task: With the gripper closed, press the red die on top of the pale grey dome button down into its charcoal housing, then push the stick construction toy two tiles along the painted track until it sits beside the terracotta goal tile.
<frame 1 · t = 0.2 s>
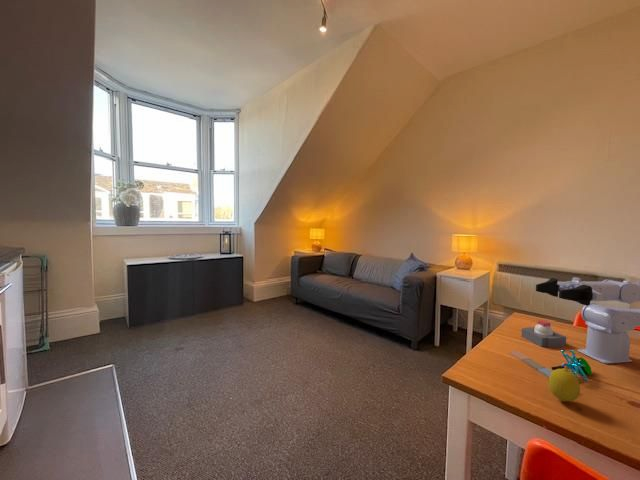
hand: (547, 291, 82), 21 cm above the table, tool horizontal, fingers open, 7 cm apart
stick construction toy: (570, 374, 77), on the table
dome button: (543, 329, 96), point 4 cm above the table, slide at 0.0 cm
dome housing: (542, 340, 97), on the table
track tiles: (533, 365, 81), on the table
lemon: (562, 402, 65), on the table
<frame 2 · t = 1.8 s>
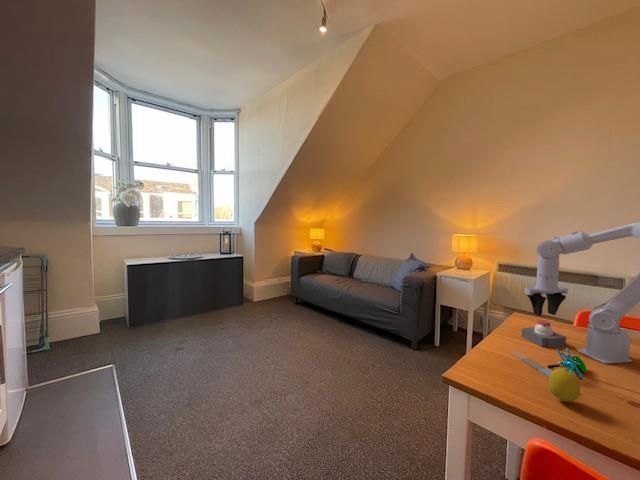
hand: (544, 314, 96), 9 cm above the table, tool pointing down, fingers open, 5 cm apart
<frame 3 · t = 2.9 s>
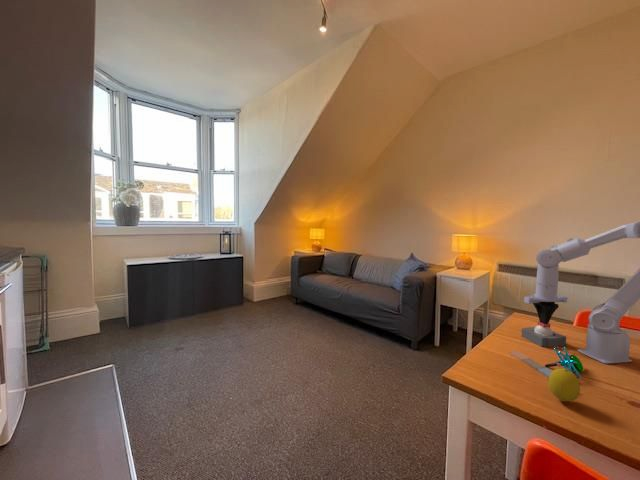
hand: (543, 322, 96), 6 cm above the table, tool pointing down, fingers closed, pressing on dome button
dome button: (543, 330, 96), point 4 cm above the table, slide at 0.4 cm, touching gripper
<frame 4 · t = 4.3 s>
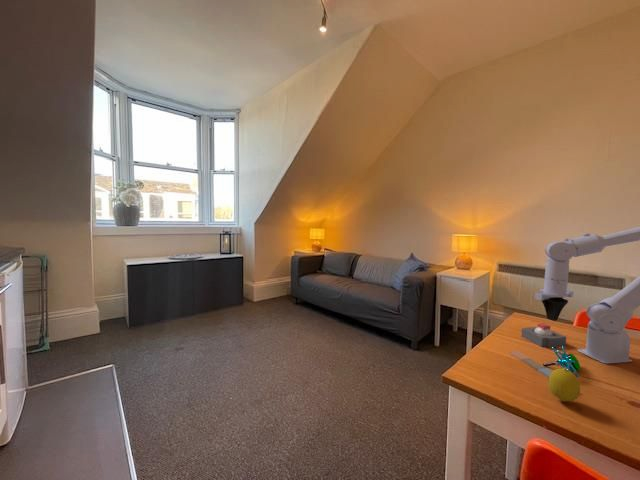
hand: (551, 319, 91), 9 cm above the table, tool pointing down, fingers closed
dome button: (543, 332, 96), point 3 cm above the table, slide at 1.1 cm
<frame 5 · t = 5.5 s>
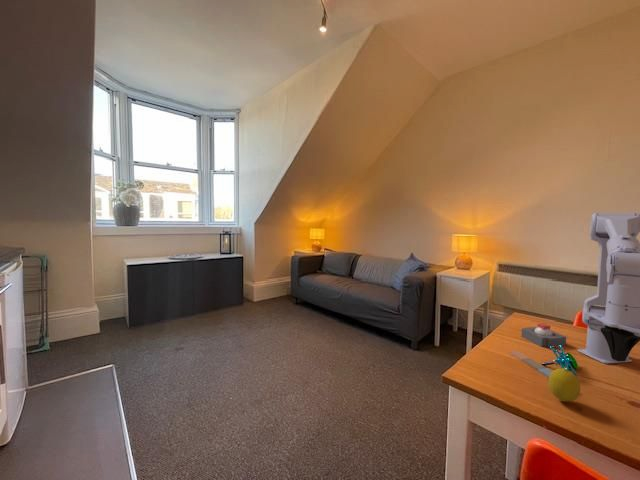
hand: (618, 359, 66), 9 cm above the table, tool pointing down, fingers closed
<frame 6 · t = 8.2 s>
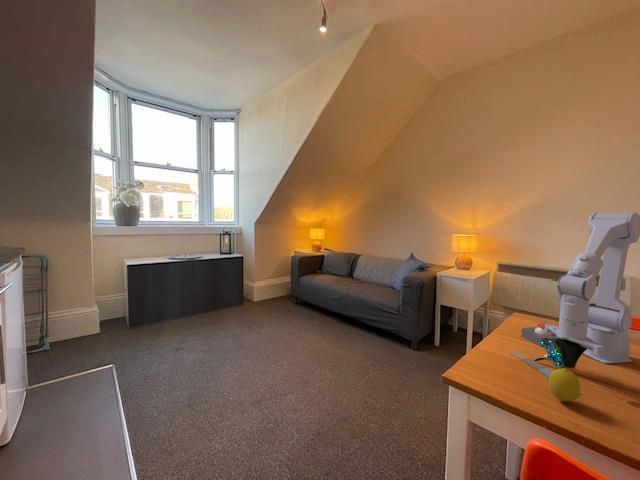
hand: (569, 366, 78), 1 cm above the table, tool pointing down, fingers closed
stick construction toy: (549, 364, 82), on the table, touching gripper
everything else where it was.
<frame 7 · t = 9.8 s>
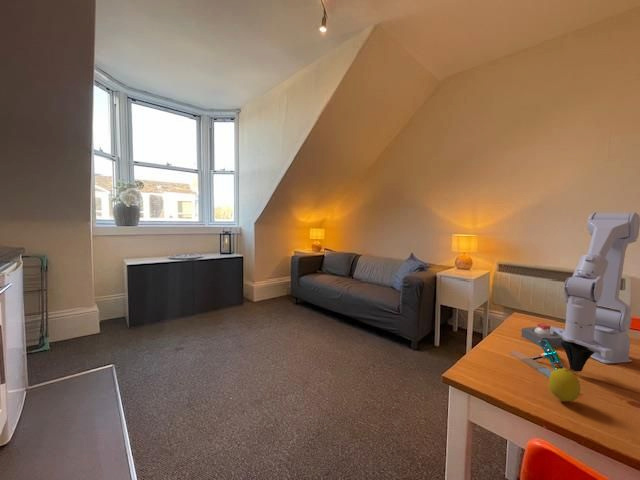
hand: (575, 370, 76), 1 cm above the table, tool pointing down, fingers closed
stick construction toy: (545, 362, 83), on the table
everything else where it was.
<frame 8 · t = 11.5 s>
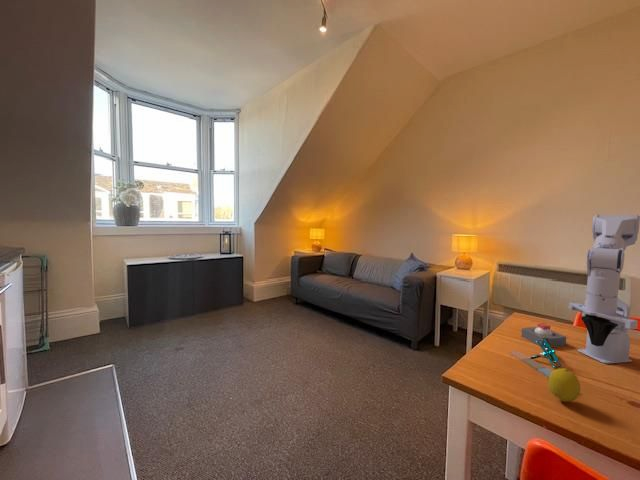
hand: (597, 344, 73), 9 cm above the table, tool pointing down, fingers closed
nothing on the table moved.
at the end: dome button slide at 1.1 cm; stick construction toy inside the target area (2.9 cm from its centre), on the table; stick construction toy tilted 0° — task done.
